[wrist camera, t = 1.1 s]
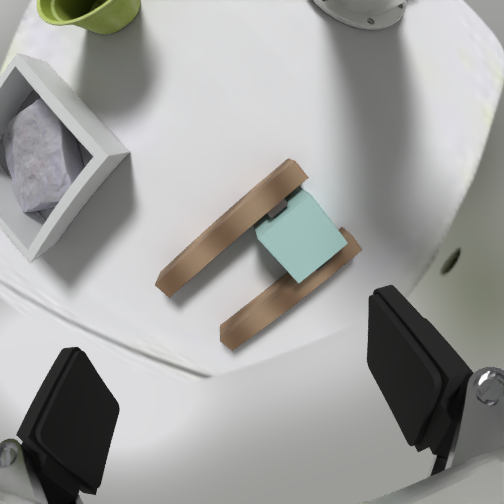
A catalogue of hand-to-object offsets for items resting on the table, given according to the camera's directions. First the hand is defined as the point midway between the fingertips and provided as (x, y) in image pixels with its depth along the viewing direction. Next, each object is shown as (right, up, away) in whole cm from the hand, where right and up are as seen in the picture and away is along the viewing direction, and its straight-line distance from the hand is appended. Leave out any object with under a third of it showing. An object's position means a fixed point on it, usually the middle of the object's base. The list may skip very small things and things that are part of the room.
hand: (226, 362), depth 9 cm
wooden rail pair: (+1, +3, +23) cm, 24 cm away
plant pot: (-14, +29, +12) cm, 34 cm away
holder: (-22, +14, +17) cm, 31 cm away
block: (+5, +6, +23) cm, 24 cm away
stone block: (-22, +14, +18) cm, 31 cm away
